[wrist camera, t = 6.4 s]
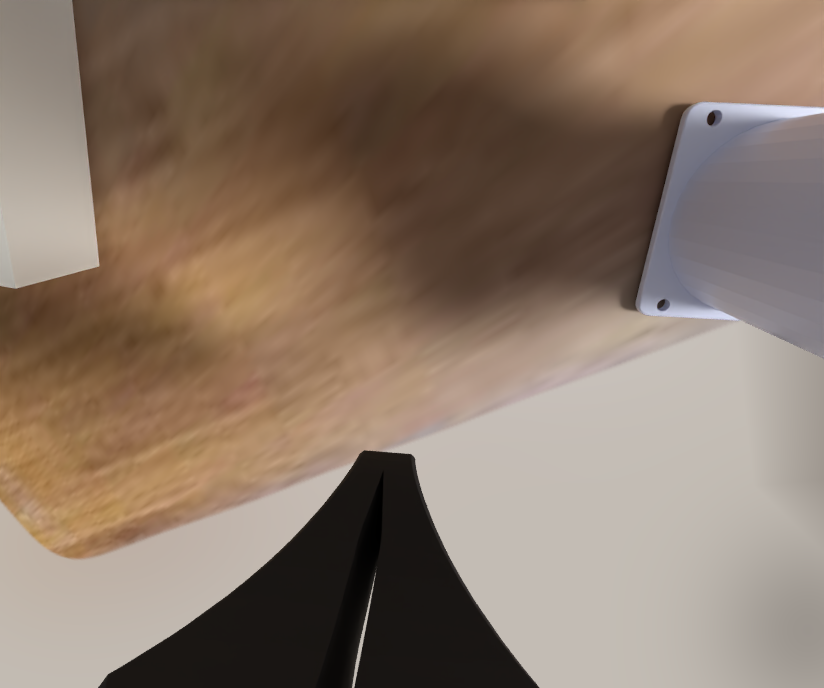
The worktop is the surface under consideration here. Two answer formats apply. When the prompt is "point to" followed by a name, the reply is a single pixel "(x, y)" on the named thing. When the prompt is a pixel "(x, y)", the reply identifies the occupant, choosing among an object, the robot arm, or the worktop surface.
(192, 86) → the worktop surface
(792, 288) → the robot arm
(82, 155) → the door
